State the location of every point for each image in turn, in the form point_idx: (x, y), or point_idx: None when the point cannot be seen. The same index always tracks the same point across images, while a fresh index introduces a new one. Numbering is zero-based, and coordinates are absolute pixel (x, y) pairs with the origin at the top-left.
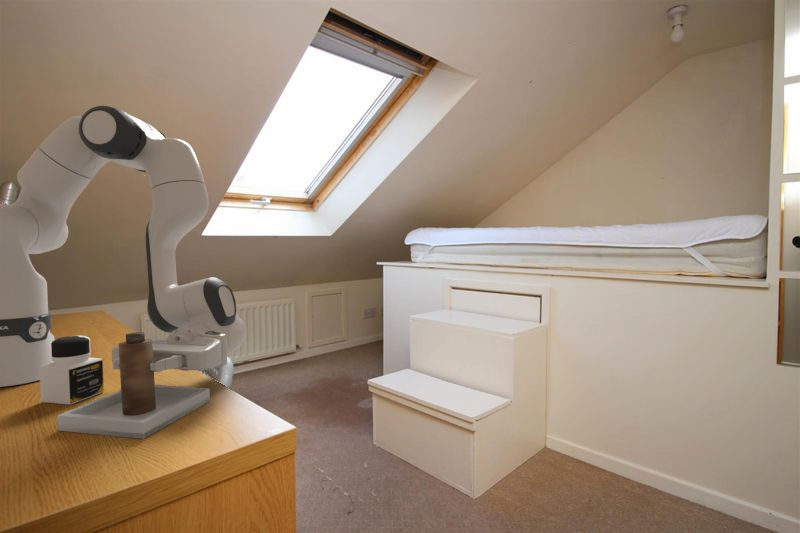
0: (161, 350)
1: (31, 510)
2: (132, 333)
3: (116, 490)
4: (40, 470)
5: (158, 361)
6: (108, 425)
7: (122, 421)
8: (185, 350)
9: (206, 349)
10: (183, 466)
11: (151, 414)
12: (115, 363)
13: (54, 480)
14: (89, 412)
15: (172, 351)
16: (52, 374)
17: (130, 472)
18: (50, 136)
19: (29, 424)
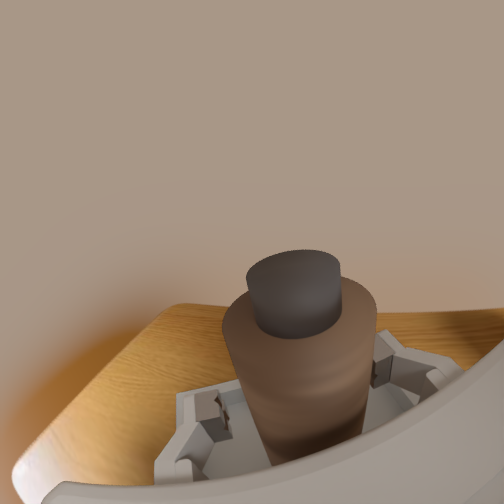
0: (286, 462)
1: (177, 311)
2: (313, 264)
3: (130, 343)
4: None
5: (189, 400)
6: None
7: (221, 383)
8: (132, 495)
9: (43, 502)
10: (91, 384)
11: (254, 463)
12: None
13: (204, 327)
14: (387, 385)
15: (205, 480)
16: None
17: (138, 361)
18: None
19: (436, 329)
